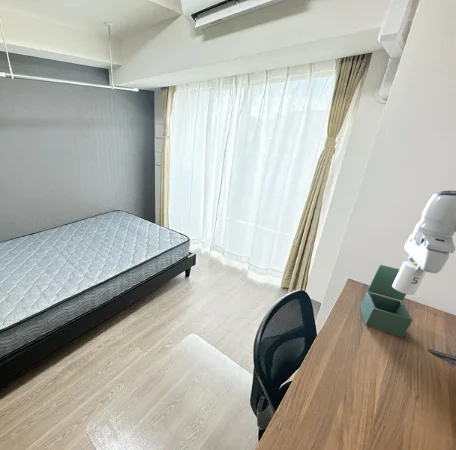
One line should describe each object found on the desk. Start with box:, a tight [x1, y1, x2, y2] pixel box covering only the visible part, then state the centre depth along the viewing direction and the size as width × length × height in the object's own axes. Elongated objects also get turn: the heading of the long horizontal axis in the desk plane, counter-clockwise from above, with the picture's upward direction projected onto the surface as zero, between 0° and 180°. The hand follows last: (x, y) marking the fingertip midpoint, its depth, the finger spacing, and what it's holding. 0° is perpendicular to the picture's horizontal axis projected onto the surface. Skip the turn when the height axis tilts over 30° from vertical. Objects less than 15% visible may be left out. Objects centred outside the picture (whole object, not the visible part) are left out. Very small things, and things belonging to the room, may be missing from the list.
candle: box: [392, 260, 427, 296], centre depth 89 cm, size 6×6×15 cm
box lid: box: [367, 264, 407, 302], centre depth 102 cm, size 14×12×5 cm
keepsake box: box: [359, 291, 413, 338], centre depth 100 cm, size 13×12×9 cm
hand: (412, 271), depth 89 cm, fingers closed on candle, 4 cm apart
